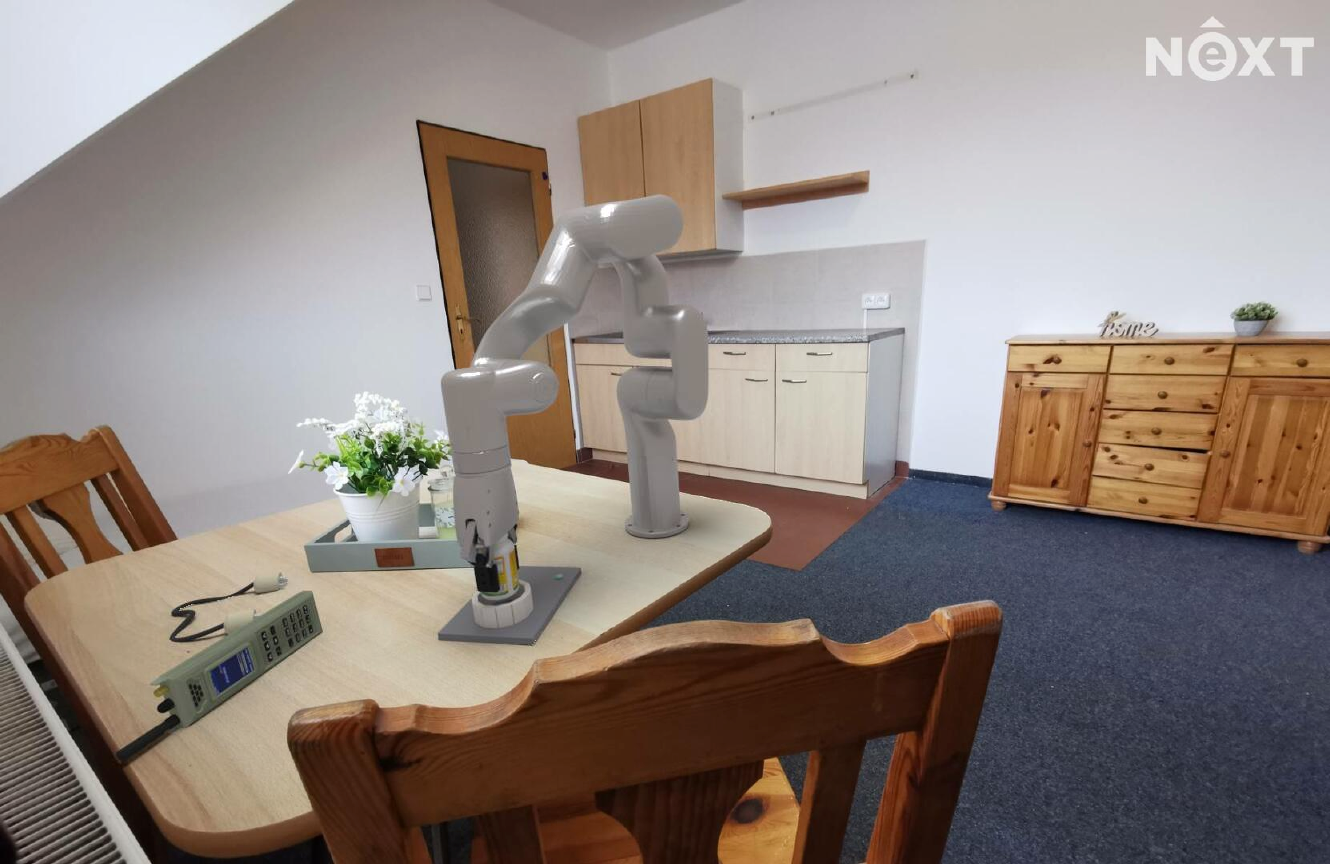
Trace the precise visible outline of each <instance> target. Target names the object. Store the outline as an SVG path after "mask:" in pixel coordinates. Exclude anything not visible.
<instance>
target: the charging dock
mask: <svg viewBox="0 0 1330 864" xmlns="http://www.w3.org/2000/svg"><path fill="white" fill-rule="evenodd" d="M517 572H518V581H519V589H518V590H517V592H516V593H515V594H514V595H512V596H510V597H508V598H506V599H502V600H488V599H485V598H484V597H483V596H482V594H481V592H479V591H478V590H477V589H476V591H475V592H474V593H473V594H472V596H471V598H470V599H469V600H468V602H466V604H464V605H463V607H461V608H460V609H459V611H458V612H457V613H456V614H455V615H454V616H453V617H452V618H451V619H449V621H448V622H447V623H446V624H445V625H444V626H443V627H442V628H441V629H440V630H439V631H438V632H437V637H438V641H451V642H453V641H454V642H469V643H472V642H473V643H488V644H491V643H492V644H502V645H503V644H504V643H505V644H506V645H507V644H508V645H520V644H534V642H535V640H537V641H538V639H539V638H538V636H539V637H540V636H541V635H542V633H543V632H544V630H545V629H546V628H547V626H548V624H549V623H550V621H551V620H552V618H553V617H554V616H555V613H556V612H557V610H558V609H559V608H560V606H561V605H562V603H563V602H564V600H565V599H566V597H567V596H568V595H569V592H570V591H571V590H572V588H573V587H574V586H575V583H576V582H577V581H578V579H579V578H580V576H581V575H582V567H571V566H569V567H567V566H535V565H532V566H531V565H519V569H518V570H517ZM546 625H547V626H546ZM544 628H545V629H544ZM541 632H542V633H541ZM540 634H541V635H540ZM537 638H538V639H537ZM516 643H517V644H516ZM535 643H536V642H535ZM505 644H504V645H505ZM534 645H535V644H534Z"/></svg>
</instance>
